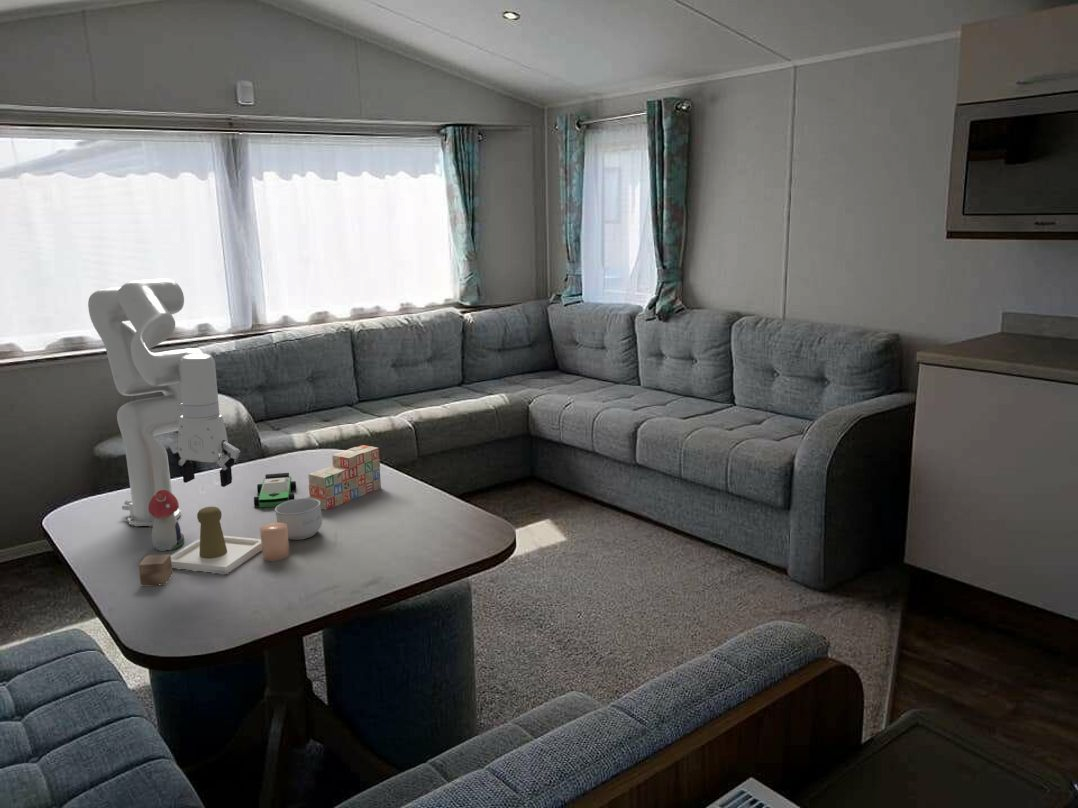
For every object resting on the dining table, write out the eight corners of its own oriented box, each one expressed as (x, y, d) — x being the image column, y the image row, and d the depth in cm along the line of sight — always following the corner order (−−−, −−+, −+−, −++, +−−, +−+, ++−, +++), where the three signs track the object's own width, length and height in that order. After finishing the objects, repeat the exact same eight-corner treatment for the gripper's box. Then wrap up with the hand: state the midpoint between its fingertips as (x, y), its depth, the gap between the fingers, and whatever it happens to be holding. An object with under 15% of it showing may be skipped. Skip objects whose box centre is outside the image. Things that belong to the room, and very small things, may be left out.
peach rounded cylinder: (257, 559, 193) (254, 530, 191) (271, 549, 198) (269, 521, 197) (280, 561, 191) (278, 533, 190) (294, 551, 197) (292, 523, 195)
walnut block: (141, 586, 180) (138, 564, 179) (149, 576, 185) (146, 555, 183) (165, 585, 180) (162, 563, 179) (172, 575, 185) (170, 554, 184)
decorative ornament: (173, 554, 196) (166, 493, 193) (145, 554, 196) (138, 493, 193) (190, 538, 205) (183, 480, 202) (163, 539, 205) (156, 480, 202)
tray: (163, 567, 189) (162, 560, 188) (207, 540, 204) (207, 533, 203) (226, 574, 185) (225, 567, 184) (266, 546, 200) (265, 539, 199)
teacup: (310, 545, 201) (308, 513, 199) (269, 542, 203) (266, 510, 201) (335, 524, 214) (333, 494, 212) (296, 521, 216) (294, 491, 214)
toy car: (253, 511, 224) (252, 493, 223) (259, 488, 243) (258, 471, 242) (294, 507, 227) (292, 490, 226) (296, 485, 245) (295, 469, 244)
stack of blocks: (326, 510, 224) (323, 466, 221) (310, 506, 227) (306, 463, 224) (381, 488, 241) (379, 446, 238) (365, 484, 245) (362, 443, 242)
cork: (204, 548, 197) (199, 504, 195) (230, 547, 198) (226, 503, 195) (195, 559, 191) (190, 513, 189) (222, 558, 192) (218, 512, 189)
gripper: (156, 411, 185) (163, 484, 189) (225, 417, 181) (231, 492, 185) (178, 403, 192) (185, 474, 196) (245, 408, 188) (251, 481, 192)
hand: (207, 482), depth 191 cm, fingers open, 9 cm apart
